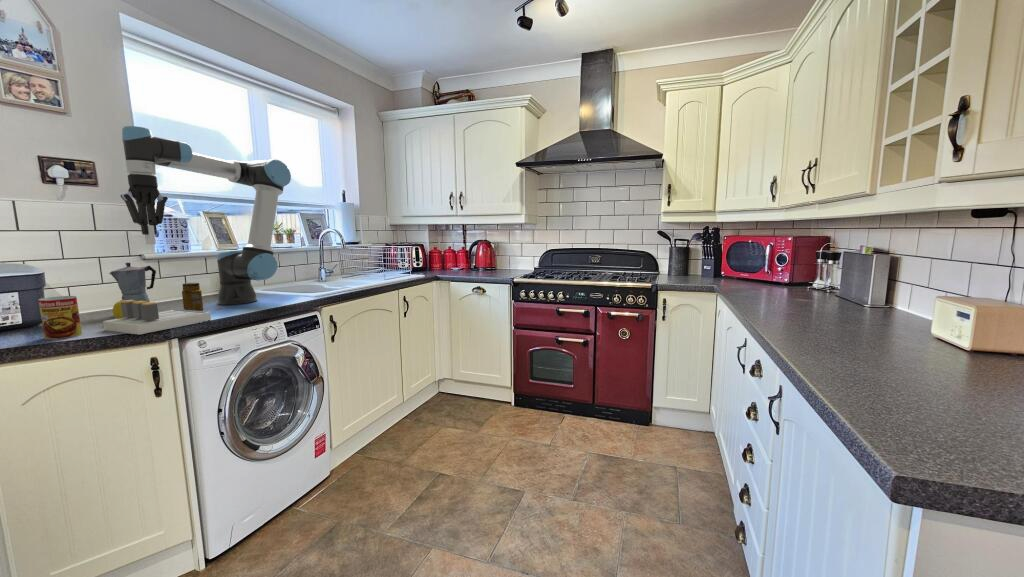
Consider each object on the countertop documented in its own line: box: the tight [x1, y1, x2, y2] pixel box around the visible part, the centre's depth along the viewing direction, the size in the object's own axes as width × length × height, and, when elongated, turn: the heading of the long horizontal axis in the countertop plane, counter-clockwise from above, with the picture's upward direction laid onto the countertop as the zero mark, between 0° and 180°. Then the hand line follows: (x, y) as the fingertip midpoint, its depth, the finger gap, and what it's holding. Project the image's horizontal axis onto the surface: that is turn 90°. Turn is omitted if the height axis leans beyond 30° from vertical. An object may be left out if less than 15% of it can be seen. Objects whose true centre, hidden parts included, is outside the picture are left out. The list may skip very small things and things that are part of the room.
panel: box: [103, 308, 212, 336], centre depth 142 cm, size 22×18×3 cm
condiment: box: [181, 282, 204, 311], centre depth 161 cm, size 7×8×12 cm
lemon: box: [112, 299, 125, 319], centre depth 147 cm, size 6×6×8 cm
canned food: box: [37, 295, 83, 340], centre depth 127 cm, size 8×8×12 cm
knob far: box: [121, 300, 136, 318], centre depth 139 cm, size 3×3×6 cm
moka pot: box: [108, 262, 157, 302], centre depth 165 cm, size 10×15×20 cm, turn 166°
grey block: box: [140, 301, 159, 321], centre depth 134 cm, size 3×3×6 cm
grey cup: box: [132, 301, 147, 319], centre depth 137 cm, size 3×3×6 cm
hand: (151, 244), depth 145 cm, fingers closed
